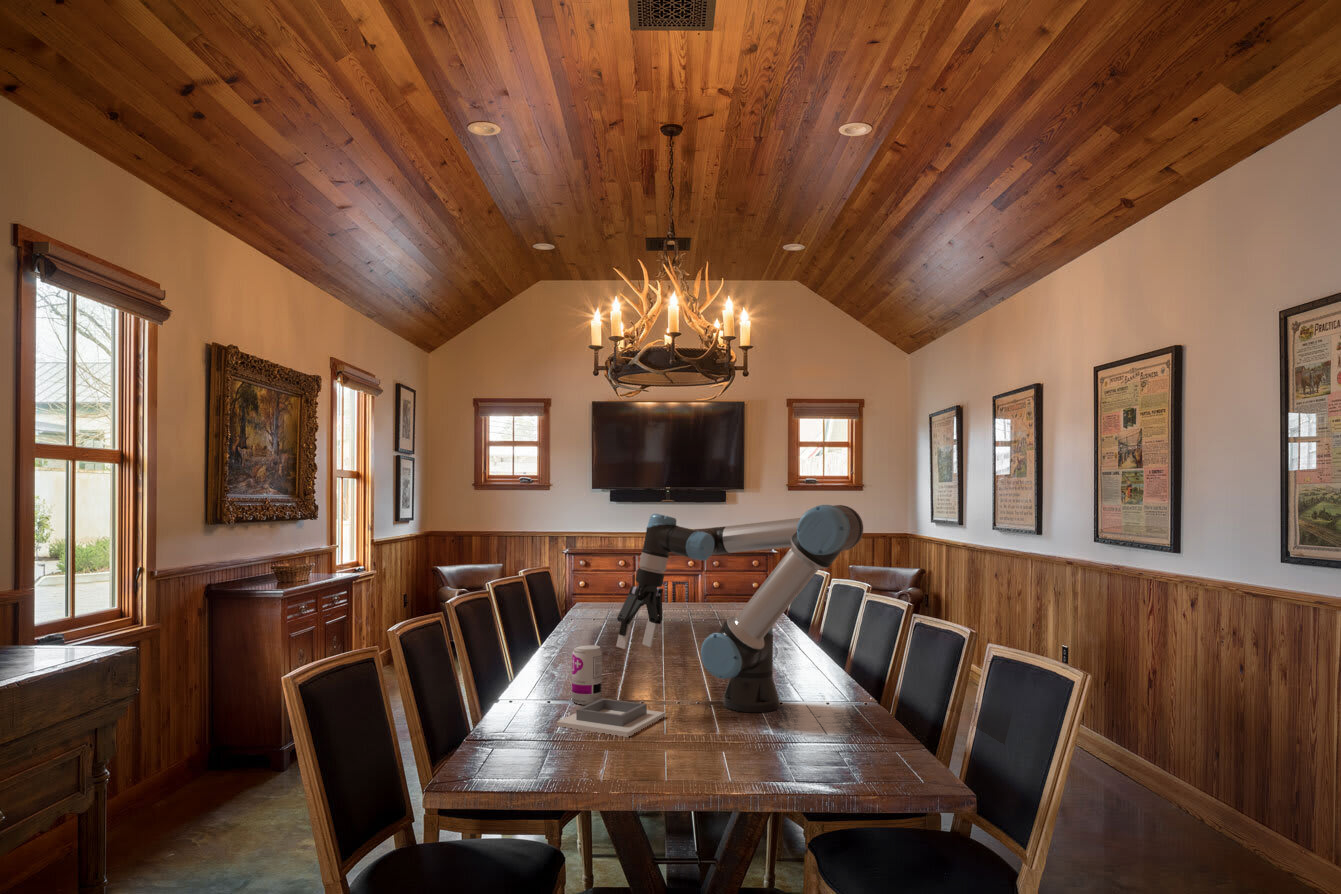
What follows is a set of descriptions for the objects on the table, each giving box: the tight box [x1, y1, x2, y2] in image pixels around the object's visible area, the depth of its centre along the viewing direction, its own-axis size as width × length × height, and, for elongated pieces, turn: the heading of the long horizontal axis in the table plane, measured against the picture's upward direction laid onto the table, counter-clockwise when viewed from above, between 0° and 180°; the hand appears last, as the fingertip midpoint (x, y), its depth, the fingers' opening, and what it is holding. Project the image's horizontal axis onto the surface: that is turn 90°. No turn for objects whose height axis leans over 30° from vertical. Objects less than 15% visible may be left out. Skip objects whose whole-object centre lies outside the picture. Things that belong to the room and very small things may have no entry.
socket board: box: [556, 697, 666, 738], centre depth 209 cm, size 20×20×4 cm
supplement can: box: [571, 644, 603, 706], centre depth 229 cm, size 8×8×15 cm
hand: (634, 646), depth 225 cm, fingers open, 13 cm apart
